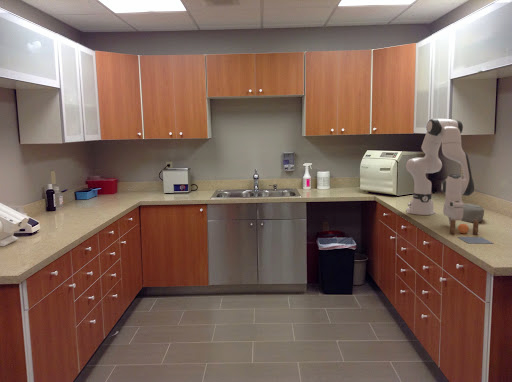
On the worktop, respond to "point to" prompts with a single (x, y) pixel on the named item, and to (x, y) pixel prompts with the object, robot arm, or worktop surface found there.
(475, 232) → the post
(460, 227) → the ball
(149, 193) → the worktop surface
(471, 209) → the stone
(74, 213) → the worktop surface
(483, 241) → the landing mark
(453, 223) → the post
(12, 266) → the worktop surface
